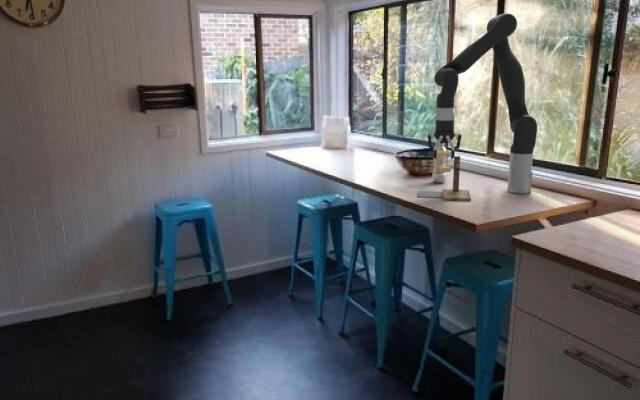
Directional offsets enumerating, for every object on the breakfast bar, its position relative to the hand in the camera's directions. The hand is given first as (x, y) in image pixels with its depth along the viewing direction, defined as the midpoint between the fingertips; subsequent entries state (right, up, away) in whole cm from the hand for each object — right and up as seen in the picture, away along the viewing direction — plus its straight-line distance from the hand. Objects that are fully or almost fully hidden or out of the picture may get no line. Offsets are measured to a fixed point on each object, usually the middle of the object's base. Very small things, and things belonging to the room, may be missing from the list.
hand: (443, 158), depth 213 cm
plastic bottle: (+5, -9, +30) cm, 32 cm away
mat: (-4, -15, +7) cm, 17 cm away
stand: (+6, -16, +4) cm, 17 cm away
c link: (0, -5, +1) cm, 5 cm away
